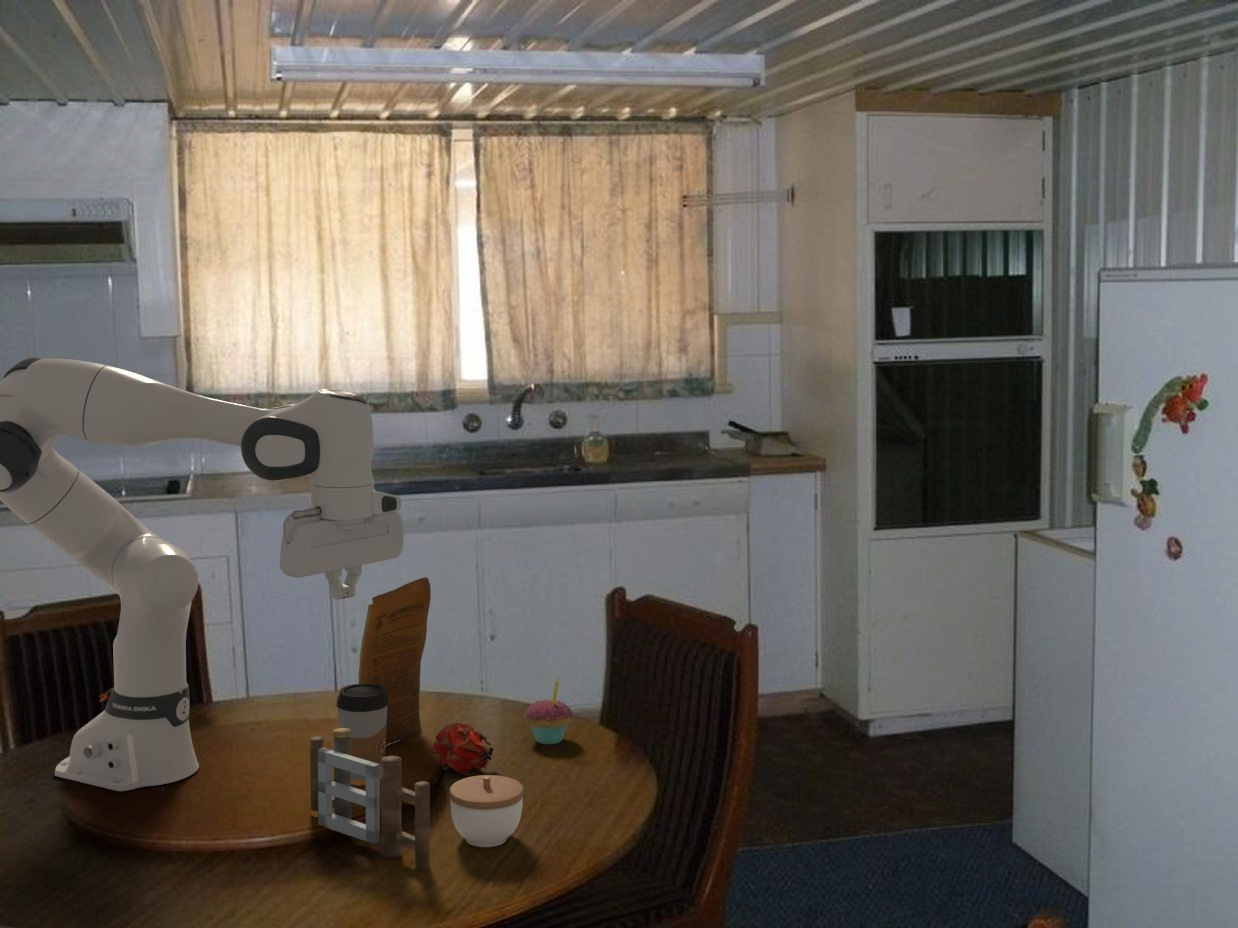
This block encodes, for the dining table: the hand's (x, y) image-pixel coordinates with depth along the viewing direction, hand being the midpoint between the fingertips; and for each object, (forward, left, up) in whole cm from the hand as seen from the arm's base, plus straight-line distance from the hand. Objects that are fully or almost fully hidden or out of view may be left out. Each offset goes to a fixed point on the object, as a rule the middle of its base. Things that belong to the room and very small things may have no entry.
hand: (343, 597), depth 196 cm
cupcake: (+17, +46, -35) cm, 60 cm away
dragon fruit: (+8, +28, -35) cm, 46 cm away
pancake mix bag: (-9, +38, -35) cm, 53 cm away
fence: (+5, -3, -35) cm, 36 cm away
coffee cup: (-6, +19, -35) cm, 40 cm away
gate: (+2, -3, -34) cm, 34 cm away
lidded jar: (+21, +3, -35) cm, 41 cm away
